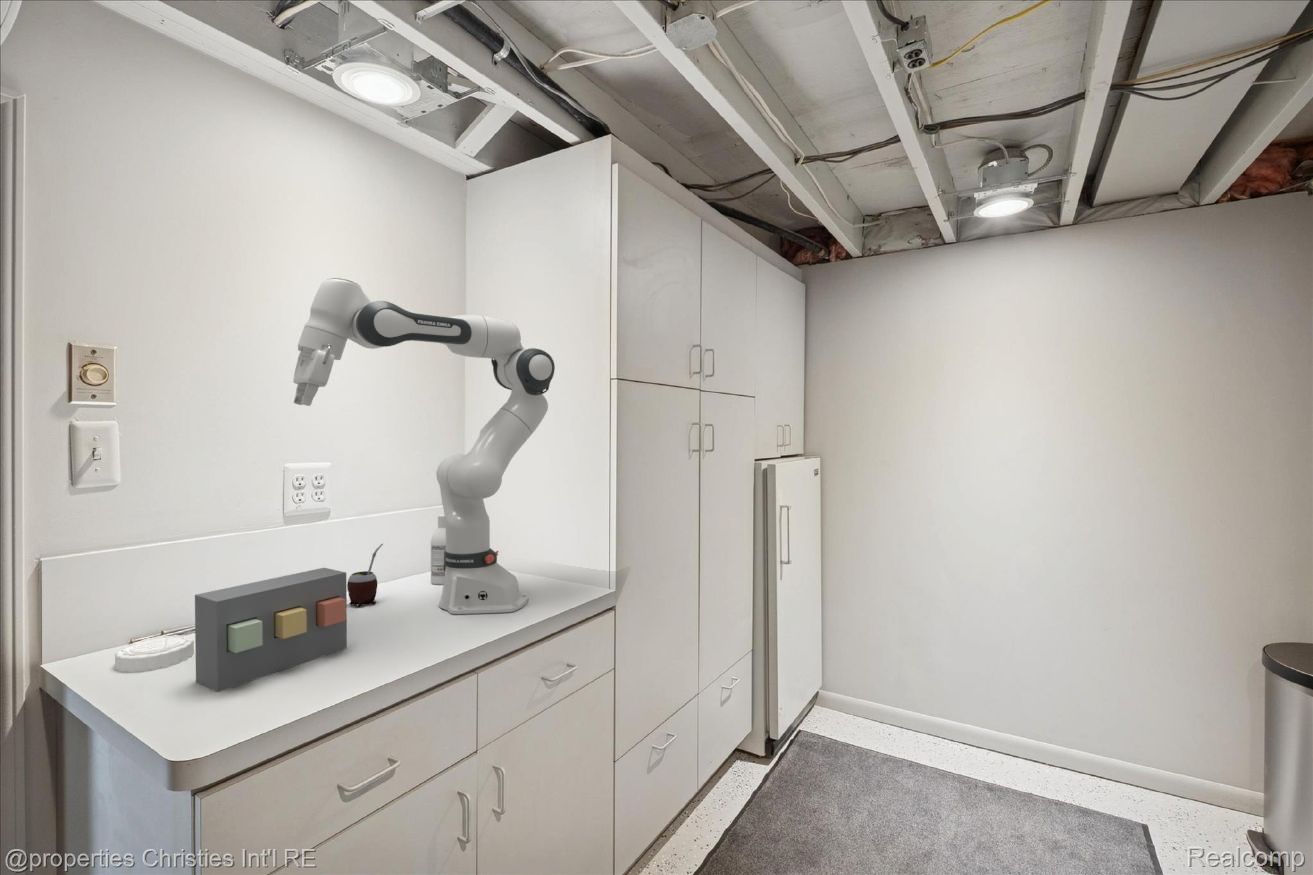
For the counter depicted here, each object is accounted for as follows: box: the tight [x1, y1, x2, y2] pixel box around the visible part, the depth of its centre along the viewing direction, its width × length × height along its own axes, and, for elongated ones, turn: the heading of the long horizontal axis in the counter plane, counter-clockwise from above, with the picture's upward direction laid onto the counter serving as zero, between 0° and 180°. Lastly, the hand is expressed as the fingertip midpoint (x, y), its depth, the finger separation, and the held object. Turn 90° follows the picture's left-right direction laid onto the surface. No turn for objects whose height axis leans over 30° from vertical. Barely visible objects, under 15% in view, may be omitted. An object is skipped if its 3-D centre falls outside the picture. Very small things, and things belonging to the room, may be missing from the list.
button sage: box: [227, 618, 263, 653], centre depth 108 cm, size 3×4×4 cm
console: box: [194, 567, 348, 693], centre depth 118 cm, size 8×24×16 cm, turn 150°
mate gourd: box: [346, 543, 384, 609], centre depth 157 cm, size 8×8×15 cm
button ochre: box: [274, 607, 307, 639], centre depth 115 cm, size 3×4×4 cm
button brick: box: [316, 597, 346, 627], centre depth 122 cm, size 3×4×4 cm
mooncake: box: [114, 634, 195, 674], centre depth 119 cm, size 12×12×4 cm
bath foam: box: [430, 514, 446, 586], centre depth 178 cm, size 7×7×20 cm
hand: (301, 404), depth 133 cm, fingers open, 8 cm apart
